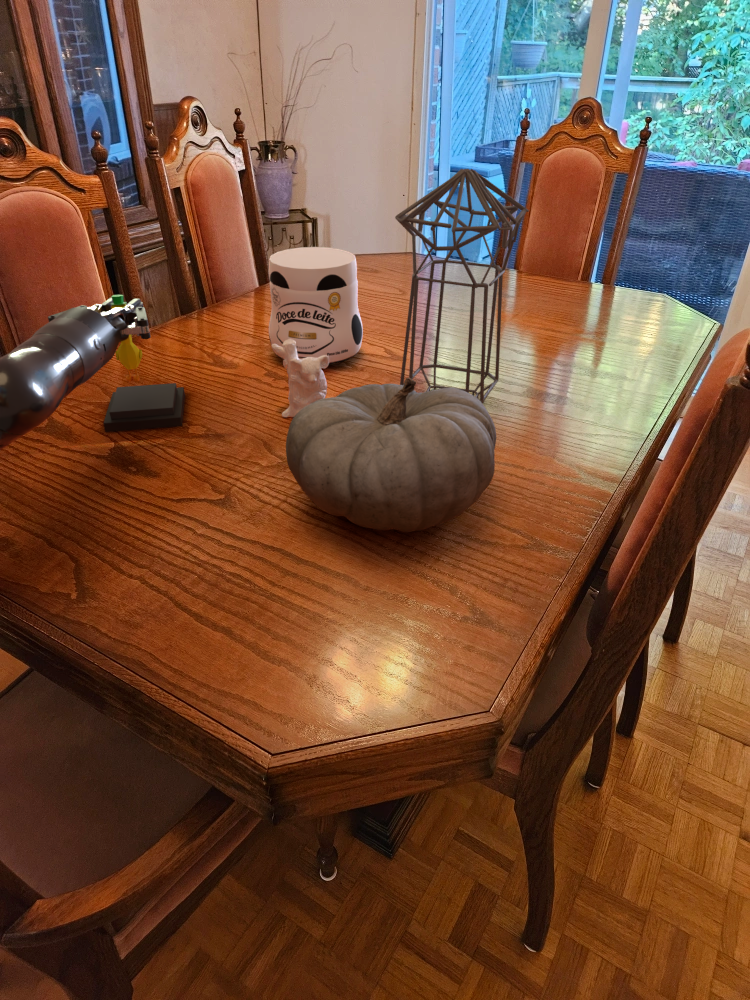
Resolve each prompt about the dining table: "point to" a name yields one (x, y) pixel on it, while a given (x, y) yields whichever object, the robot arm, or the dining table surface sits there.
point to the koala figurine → (302, 377)
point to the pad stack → (145, 407)
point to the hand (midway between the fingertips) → (127, 305)
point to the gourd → (393, 454)
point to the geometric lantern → (484, 197)
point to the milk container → (315, 302)
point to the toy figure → (127, 347)
